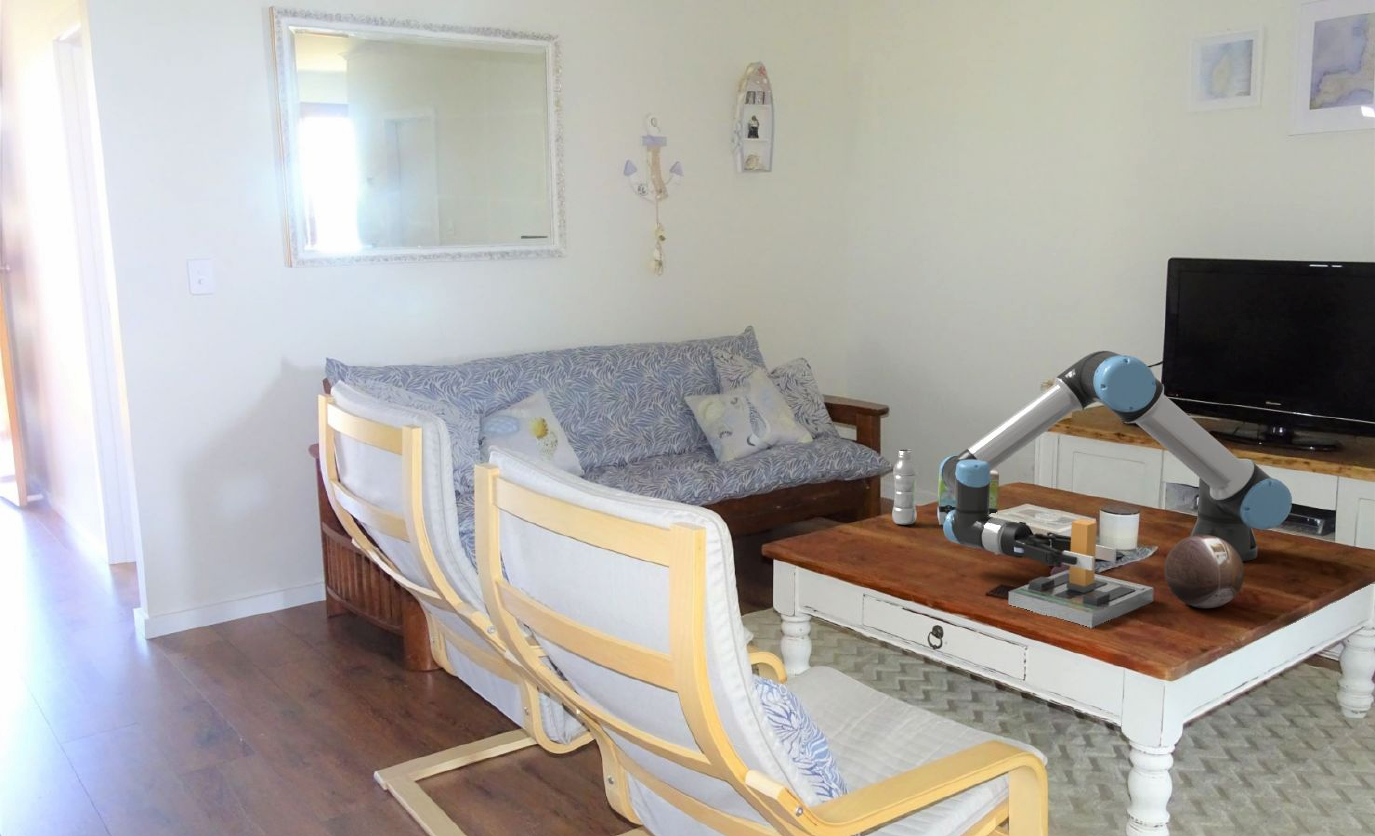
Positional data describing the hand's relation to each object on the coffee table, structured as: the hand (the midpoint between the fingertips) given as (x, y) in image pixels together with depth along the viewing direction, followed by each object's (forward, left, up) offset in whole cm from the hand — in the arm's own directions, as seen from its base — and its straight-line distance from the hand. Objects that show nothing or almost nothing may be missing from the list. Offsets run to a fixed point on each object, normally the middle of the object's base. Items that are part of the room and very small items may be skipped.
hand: (1104, 559), depth 234 cm
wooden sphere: (-21, -1, -11) cm, 24 cm away
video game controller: (0, -26, -11) cm, 28 cm away
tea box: (+10, -72, -11) cm, 73 cm away
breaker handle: (+3, -4, -7) cm, 9 cm away
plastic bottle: (+27, -71, -11) cm, 76 cm away
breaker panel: (+3, -4, -11) cm, 12 cm away
